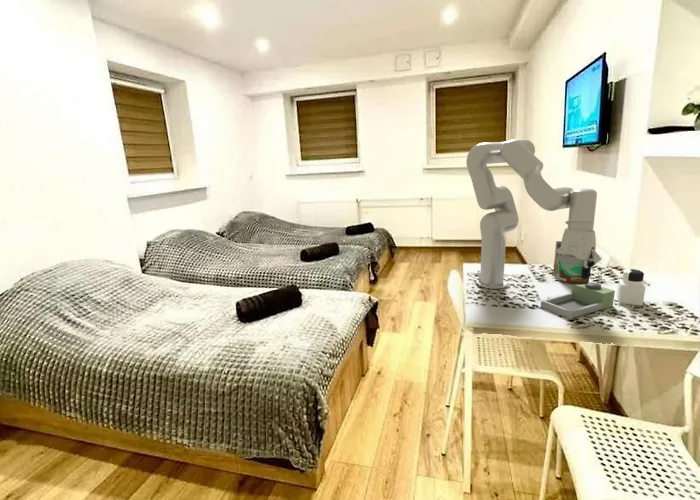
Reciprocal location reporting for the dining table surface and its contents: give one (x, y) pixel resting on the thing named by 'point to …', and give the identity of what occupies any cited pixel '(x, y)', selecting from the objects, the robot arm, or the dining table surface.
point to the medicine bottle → (631, 287)
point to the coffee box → (556, 261)
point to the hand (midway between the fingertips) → (575, 275)
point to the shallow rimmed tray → (580, 300)
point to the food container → (571, 270)
